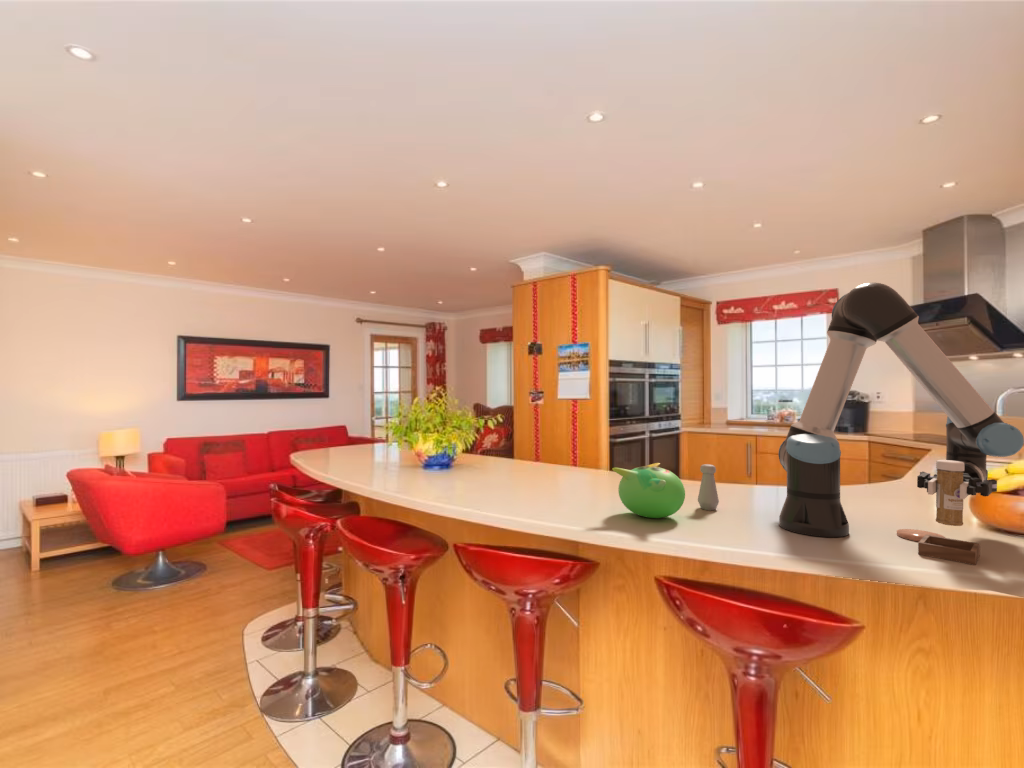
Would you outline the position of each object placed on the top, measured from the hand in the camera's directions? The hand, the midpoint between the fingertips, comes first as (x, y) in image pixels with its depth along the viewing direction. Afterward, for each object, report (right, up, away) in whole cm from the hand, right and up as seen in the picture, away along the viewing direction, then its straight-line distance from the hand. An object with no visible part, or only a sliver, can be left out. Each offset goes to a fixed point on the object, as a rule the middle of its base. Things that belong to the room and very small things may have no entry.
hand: (946, 490), depth 104 cm
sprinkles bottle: (+4, -8, +4) cm, 10 cm away
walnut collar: (+4, -15, +4) cm, 15 cm away
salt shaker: (-32, -15, +45) cm, 57 cm away
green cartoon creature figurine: (-52, -15, +35) cm, 64 cm away
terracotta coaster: (+8, -15, +16) cm, 23 cm away
